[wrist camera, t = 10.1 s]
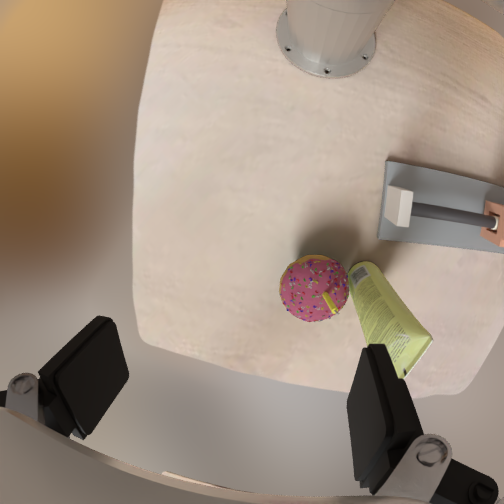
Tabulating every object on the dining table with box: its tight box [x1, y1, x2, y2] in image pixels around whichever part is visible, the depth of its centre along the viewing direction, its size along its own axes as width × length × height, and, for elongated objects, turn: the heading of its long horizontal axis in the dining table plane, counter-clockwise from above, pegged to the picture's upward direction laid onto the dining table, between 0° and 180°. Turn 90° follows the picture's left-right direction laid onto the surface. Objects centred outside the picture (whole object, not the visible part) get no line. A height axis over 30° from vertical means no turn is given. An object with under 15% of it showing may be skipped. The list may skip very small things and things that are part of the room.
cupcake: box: [279, 255, 350, 322], centre depth 33 cm, size 9×8×12 cm
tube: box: [348, 261, 433, 379], centre depth 28 cm, size 6×5×20 cm
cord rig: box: [377, 161, 504, 254], centre depth 28 cm, size 27×10×8 cm, turn 88°
